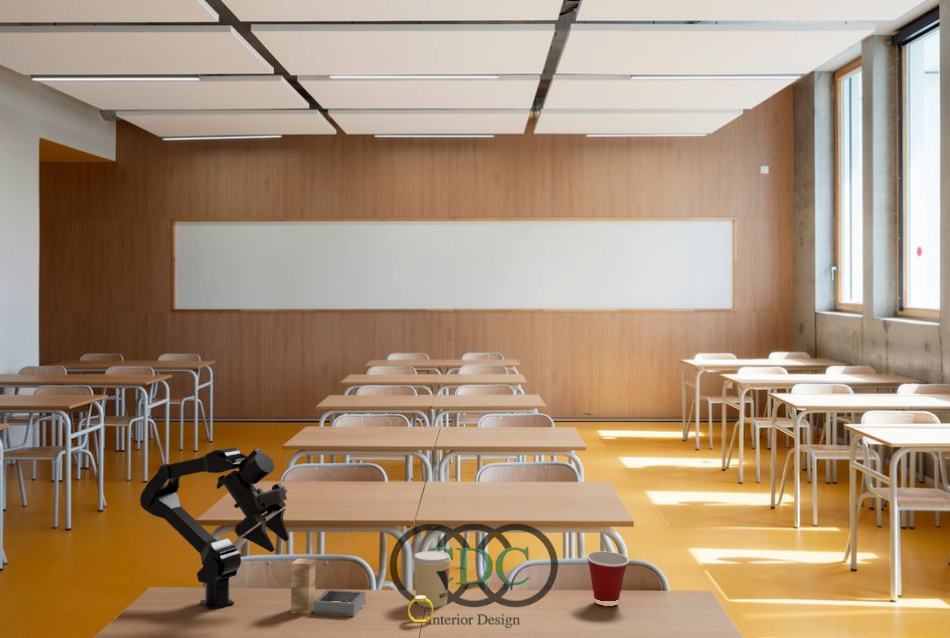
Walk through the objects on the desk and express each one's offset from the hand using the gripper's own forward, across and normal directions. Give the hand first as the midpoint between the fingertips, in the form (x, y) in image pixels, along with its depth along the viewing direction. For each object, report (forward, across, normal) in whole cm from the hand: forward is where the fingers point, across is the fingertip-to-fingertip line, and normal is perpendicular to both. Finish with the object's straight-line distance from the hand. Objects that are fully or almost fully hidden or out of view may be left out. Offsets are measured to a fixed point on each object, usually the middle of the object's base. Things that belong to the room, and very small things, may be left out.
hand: (280, 545), depth 214 cm
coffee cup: (+34, +12, -19) cm, 41 cm away
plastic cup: (+60, +20, -54) cm, 83 cm away
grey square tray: (+21, +3, -2) cm, 21 cm away
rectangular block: (+16, 0, +4) cm, 17 cm away
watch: (+34, -3, -19) cm, 39 cm away
